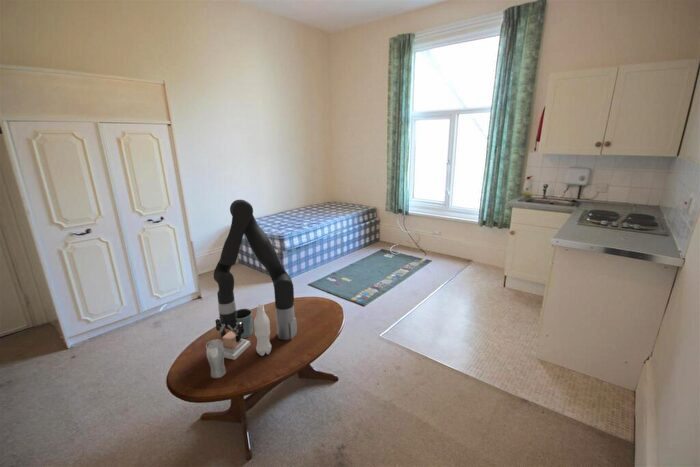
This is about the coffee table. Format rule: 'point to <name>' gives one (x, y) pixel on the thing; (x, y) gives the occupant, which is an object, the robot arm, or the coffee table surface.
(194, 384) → the coffee table surface
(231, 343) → the terracotta block
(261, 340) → the water bottle
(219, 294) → the robot arm
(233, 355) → the grey stand
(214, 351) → the beer glass
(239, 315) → the teal cup
